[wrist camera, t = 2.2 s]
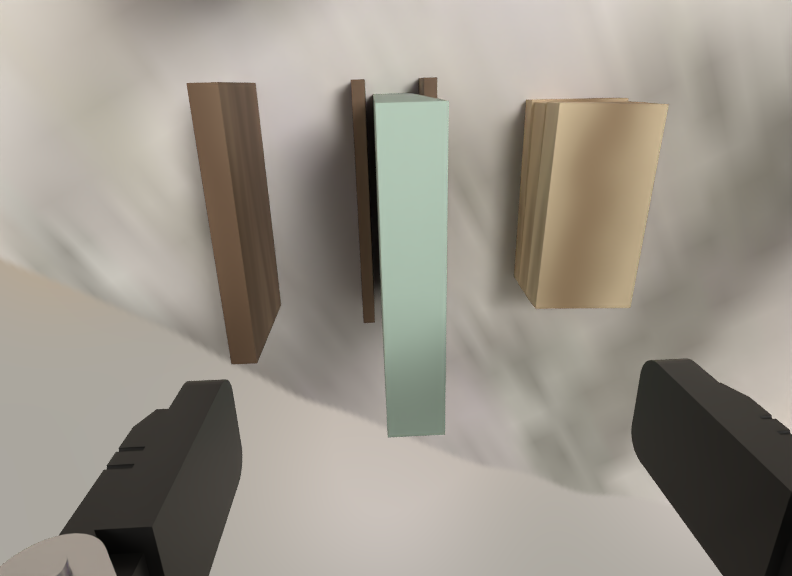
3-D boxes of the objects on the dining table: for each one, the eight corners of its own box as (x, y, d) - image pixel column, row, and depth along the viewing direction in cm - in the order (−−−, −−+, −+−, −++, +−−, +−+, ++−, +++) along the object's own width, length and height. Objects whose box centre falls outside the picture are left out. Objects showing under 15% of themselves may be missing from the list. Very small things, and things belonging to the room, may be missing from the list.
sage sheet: (411, 93, 27) (448, 101, 14) (413, 288, 31) (444, 434, 18) (373, 94, 27) (375, 103, 14) (380, 290, 31) (387, 437, 18)
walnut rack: (430, 78, 27) (448, 76, 20) (430, 299, 31) (445, 355, 25) (231, 83, 27) (186, 83, 20) (260, 305, 31) (231, 364, 25)
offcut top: (648, 103, 25) (668, 104, 23) (615, 295, 29) (630, 307, 27) (547, 101, 25) (559, 103, 23) (525, 295, 29) (535, 308, 27)
